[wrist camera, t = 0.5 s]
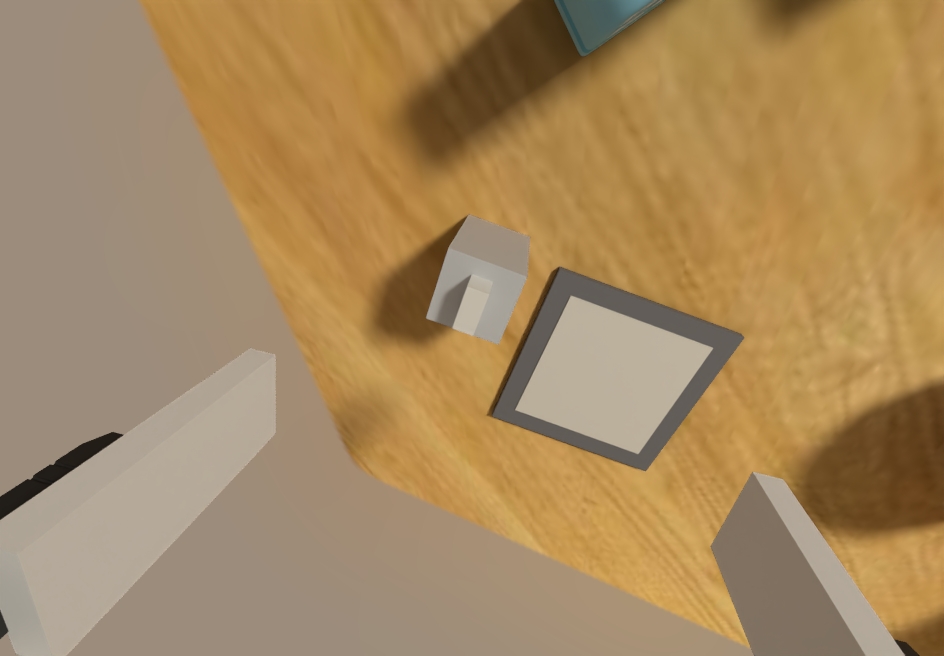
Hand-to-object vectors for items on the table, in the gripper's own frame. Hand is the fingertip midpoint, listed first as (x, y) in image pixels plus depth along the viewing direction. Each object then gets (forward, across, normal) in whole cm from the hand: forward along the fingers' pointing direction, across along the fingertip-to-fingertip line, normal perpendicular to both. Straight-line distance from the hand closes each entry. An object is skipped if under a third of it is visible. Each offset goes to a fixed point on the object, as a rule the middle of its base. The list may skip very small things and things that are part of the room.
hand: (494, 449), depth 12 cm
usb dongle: (+21, -3, 0) cm, 21 cm away
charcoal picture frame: (+22, +8, -8) cm, 25 cm away
